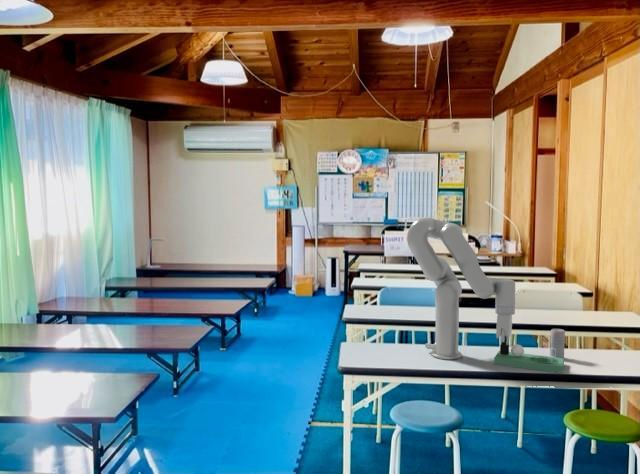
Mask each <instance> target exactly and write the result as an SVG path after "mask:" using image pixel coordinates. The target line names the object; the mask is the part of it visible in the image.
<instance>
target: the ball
mask: <svg viewBox="0 0 640 474" xmlns="http://www.w3.org/2000/svg"><path fill="white" fill-rule="evenodd" d="M510 352H511V353H512V354H513V355H514V356H515V357H520V356H522V355H523V354H525V349H524V347H523V346H522V345H521V344H517V343H516V344H514V345H512V346H511V348H510Z"/></svg>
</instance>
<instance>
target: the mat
mask: <svg viewBox="0 0 640 474" xmlns="http://www.w3.org/2000/svg"><path fill="white" fill-rule="evenodd" d="M493 359H494V360H493V364H494V365H497V366H498V365H499V366H506V367H512V368H513V367H515V368H521V369H529V370H535V371H542V372H543V371H544V372H549V373H550V372H551V373H557V372H560V373H559V374H562V373H563V370H564V365H565V364H564V363H565V357H564V358H556V357H550V356H547V355H539V354H530V353H524V354H523V355H522V356H520V357H515V356H514V355H513V354H512V353H511V351H509V354H508V355H503V354H500V350H498V351H497V353H496V355H495V356H494V358H493Z"/></svg>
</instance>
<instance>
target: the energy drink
mask: <svg viewBox="0 0 640 474" xmlns="http://www.w3.org/2000/svg"><path fill="white" fill-rule="evenodd" d="M565 336H566V332H565V330H564V329H562V328H552V329H551V330H550V340H549V341H550V346H549V348H550V349H549V357H556V358H564V359H565V341H566V340H565V338H566V337H565Z"/></svg>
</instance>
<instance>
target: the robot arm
mask: <svg viewBox="0 0 640 474" xmlns="http://www.w3.org/2000/svg"><path fill="white" fill-rule="evenodd" d="M463 234H464V233H463V229H462V228H461V226H460V225H458V224H456V223H453V222H449V221H444V220H440V219H435V218H432V217H421V218H418V219H416V220H415V221H413V222H412V223H411V225H410V227H409V228H408V231H407V234H406V235H407V236H406V240H407V242H406V243H407V246H408V248H409V250H410V252H411V254H412V255H413V257H414V258H415V261H416V263H417V264H418V266H419V267H420V269H421V271H422V272H423V275H424V276H425V278H426V280H429V281H430V282H434V284H435V285H436V289H435V291H434V302H435V303H434V304H435V329H434V330H435V333H434V334H435V336H434V337H435V339H434V341H435V342H434V343H433V344H432V343H428V342H427V343H425V349H427V350H432V351H431V356H432V357H434V358H437V359H439V360H441V359H442V360H458V359H461V358H462V356H463V353H462V352H461V351H459V333H460V332H459V327H460V326H459V324H460V322H459V321H460V318H459V317H460V311H459V309H460V305H459V303H460V301H459V298H460V297H461V294H462V291H463V287H462V284H461V283H460V281H459V279H458V277H457V276H456V274H455V272H454V271H453V269H452V268H451V266H450V264H449V263H448V261H447V260H445V259H444V258H442V257H439V255H437V253H436V251H435V250H434V248H433V246H432V245H431V243H430V242H429V241H428V238H431V239H434V240H437V241H438V240H439V241H441V242H442V244H443V245H444V247H445V248H446V250H447V251H448V252H449V254H450V255H451V257H452V258H453V260H454V262H456V264H457V266H458V268H459V270H460V272H461V274H462V275H463V277H464V279H465V280H466V282H467V284H468V285H469V286H470V288H471V289H472V290H473V292H474V294H475V295H476V296H477V297H479V298H480V299H483V300H485V299H489V298H491V297H493V296H495V302H494V303H495V305H494V308H495V314H497V317H496V318H497V319H496V331H495V333H496V334H495V337H496V339H499V338H500V340H499V341H500V344H499V345H500V347H499V348H500V349H499V351H500V354H503V355H508V354H509V352H510V343H509V342H510V337H511V336H512V329H513V328H512V327H513V316H514V315H516V282H515V281H514V280H513V279H510V278H495V277H494V278H493V277H490V276H489V277H488V276H486V274H485V273H484V271H483V270H482V267H481V266H480V264H479V260H478V255H477V254H476V252H475V250H474V249H473V247H472V246H471V245H470V244H469V242H468V240H467V239H466V237H465V236H464V235H463Z"/></svg>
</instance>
